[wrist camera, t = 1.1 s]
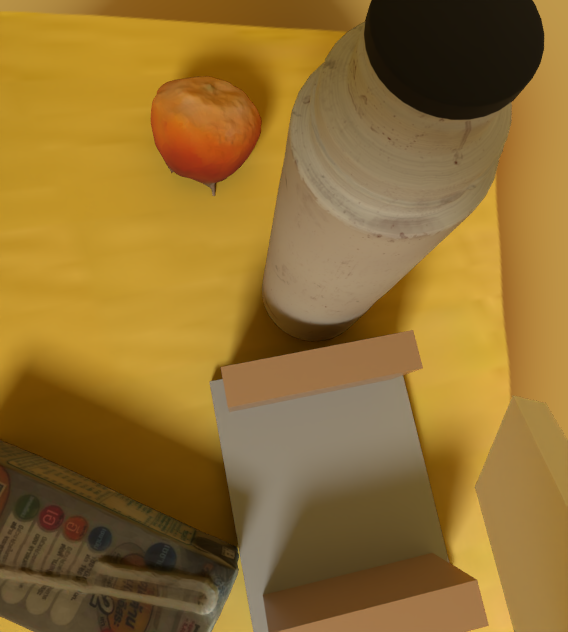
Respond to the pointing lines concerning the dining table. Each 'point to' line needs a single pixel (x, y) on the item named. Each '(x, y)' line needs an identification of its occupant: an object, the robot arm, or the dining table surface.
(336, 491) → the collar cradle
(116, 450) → the dining table surface
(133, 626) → the beverage carton
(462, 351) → the dining table surface
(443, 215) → the thermos bottle
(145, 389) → the dining table surface
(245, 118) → the fruit
